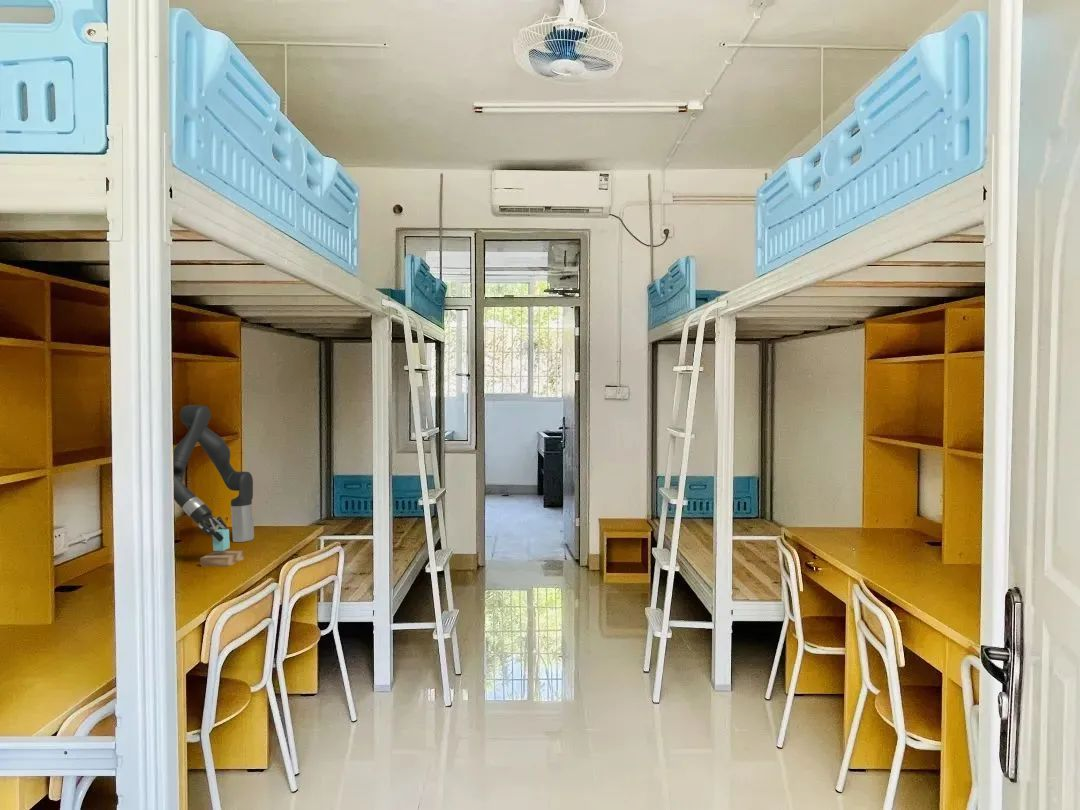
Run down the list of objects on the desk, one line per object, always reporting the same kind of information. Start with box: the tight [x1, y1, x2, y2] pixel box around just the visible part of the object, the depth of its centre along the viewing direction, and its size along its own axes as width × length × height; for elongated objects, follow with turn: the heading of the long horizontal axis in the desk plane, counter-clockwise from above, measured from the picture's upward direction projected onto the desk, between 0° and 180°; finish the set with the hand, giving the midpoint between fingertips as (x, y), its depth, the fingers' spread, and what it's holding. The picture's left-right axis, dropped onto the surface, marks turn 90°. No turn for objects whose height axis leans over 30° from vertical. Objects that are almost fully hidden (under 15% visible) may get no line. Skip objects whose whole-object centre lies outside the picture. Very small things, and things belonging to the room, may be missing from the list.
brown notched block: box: [199, 550, 245, 568], centre depth 280 cm, size 12×12×4 cm
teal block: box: [212, 528, 231, 552], centre depth 279 cm, size 5×5×8 cm
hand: (225, 538), depth 279 cm, fingers closed on teal block, 4 cm apart
